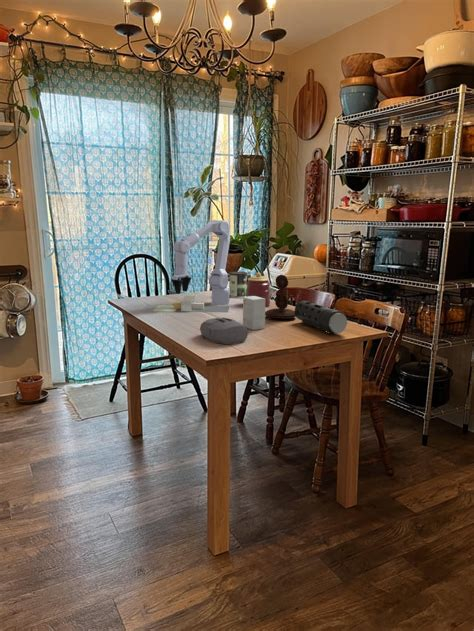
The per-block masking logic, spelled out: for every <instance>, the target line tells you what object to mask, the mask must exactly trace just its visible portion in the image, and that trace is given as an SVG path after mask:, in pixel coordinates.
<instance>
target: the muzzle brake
mask: <svg viewBox="0 0 474 631" xmlns="http://www.w3.org/2000/svg"><path fill="white" fill-rule="evenodd" d="M294 311H295V316H296V317H295V318H296V319H298V321H301V322H302V323H303V322H304V323H303V324H305V323H306V324H305V325H308V324H309V325H308V326H310V325H311V327H313V326H314V328H315V327H318V328H317V329H321V330H323V332H324V331H327V332H329V333H328V334H332V335H333V334H341V333H343V332H344V331H345V330H346V328H347V326H348V319H347V316H346V315H345V314H344V313H343V312H342V311H340V310H337V309H332V308H329V307H326V306H322V305H320V304H317V303H313V302H311V301H308V300H301V301H298V302H297V304H296V305H295V307H294Z"/></svg>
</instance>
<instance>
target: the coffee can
mask: <svg viewBox="0 0 474 631" xmlns="http://www.w3.org/2000/svg"><path fill="white" fill-rule="evenodd" d="M228 275H229V298H233V299H243V297H246V289H247V285H246V283H247V282H248V273H247V272H246V271H230V272H229V273H228Z"/></svg>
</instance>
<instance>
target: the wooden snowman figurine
mask: <svg viewBox="0 0 474 631" xmlns="http://www.w3.org/2000/svg"><path fill="white" fill-rule="evenodd" d="M275 285H276V287H277V288H278V292H279V293H278V294H277V295H276V296H275V298H274V302H275V303H274V304H275V306H276V308H270V309H267V310H265V317H268V318H269V320H270V321H272V320H273V319H290V321H293V318H297V317H296V316H295V310H293V309H291V308H288V306H289V292H288V286H289V280H288V277H287V276H286V275H284V274H279V275H277V276H276V278H275ZM284 291H286V295H285V292H284Z"/></svg>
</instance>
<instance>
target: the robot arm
mask: <svg viewBox="0 0 474 631" xmlns="http://www.w3.org/2000/svg"><path fill="white" fill-rule="evenodd" d="M230 228H231V225H230V224H229V222H228V221H227V220H225V219H223V220H217V219H212V220H210V221H208V222H207V223H206V225H204V226H203V227H202V228H200V229H199V230H197V231H196V232H189V233H187V234H188V235H186V236H185V237H182V238H181V239H180V240H177V241H175V242H174V245H173V246H172V249H173V251H174V255H175V274H174V275H172V278H171V283H172V285H173V288H174V290H175V294H178V295H179V294H181V292H186V293H187V292H188V289H189V285H190V282H191V280H192V277H191V273H190V272H188V253H189V251H190V248H192V247H194V246H195V245H197V244H198V243H199V242H200V239H202V238H203V237H204V236H206V235H208V234H209V233H213V234H214V235H215V236H217V238H218V239H219V240H218V247H217V252H216V253H217V255H216V260H215V266H214V269H213V270H212V271H211V274H210V276H209V278H208V282H209V283H208V284H209V285H210V286H211V302H210V306H229V304H230V297H229V293H230V287H228V286H229V279H228V277H229V273H227V271H226V268H227V262H228V255H229V248H230V244H231V242H230V241H231V232H230V230H231V229H230Z"/></svg>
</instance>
